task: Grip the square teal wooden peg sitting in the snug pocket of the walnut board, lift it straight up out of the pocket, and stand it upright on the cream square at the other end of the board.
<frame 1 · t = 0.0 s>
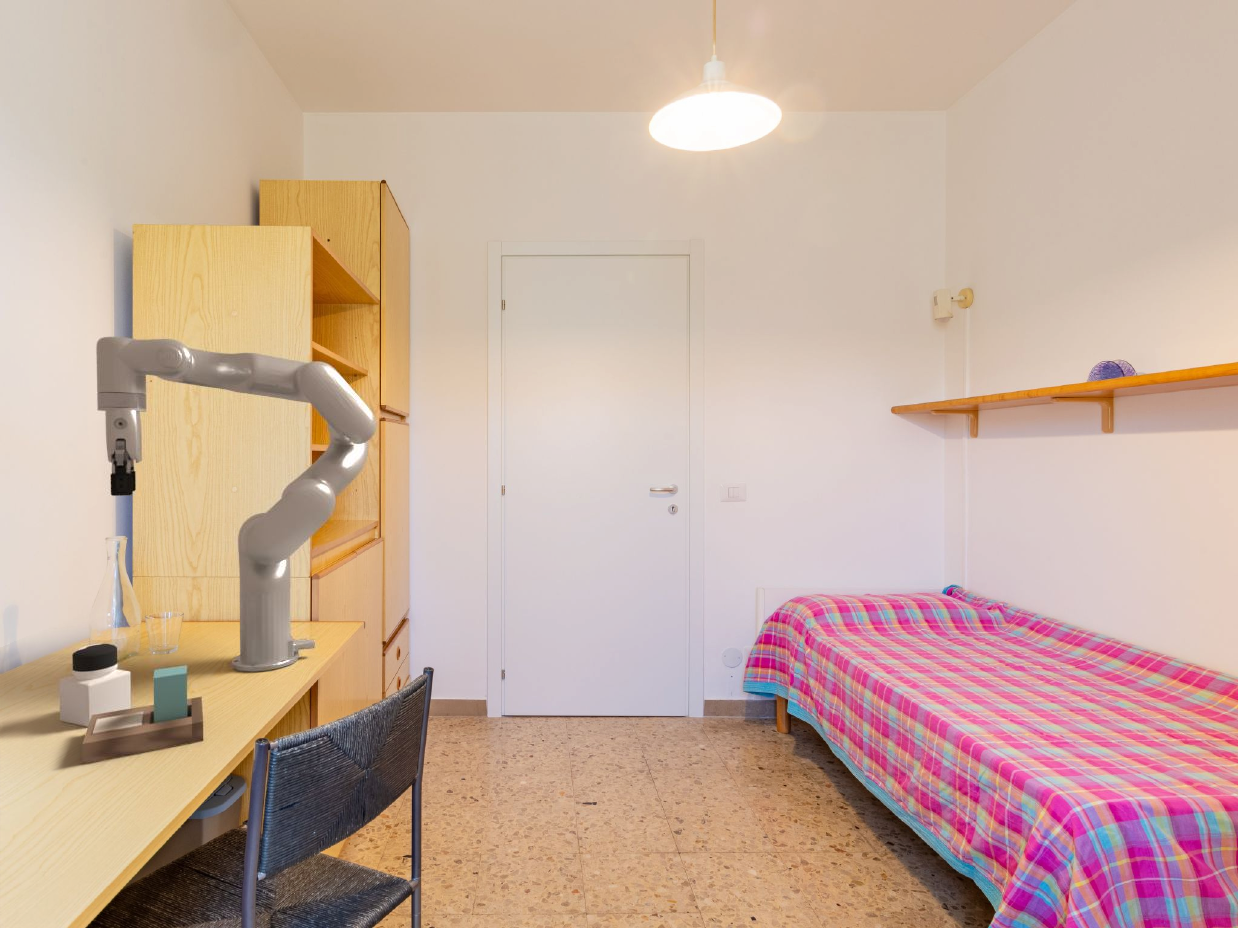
hand: (123, 493, 129), 37 cm above the table, tool pointing down, fingers open, 9 cm apart
peg: (171, 732, 110), resting in pocket board
pocket board: (147, 736, 108), on the table
medicine bottle: (96, 717, 115), on the table
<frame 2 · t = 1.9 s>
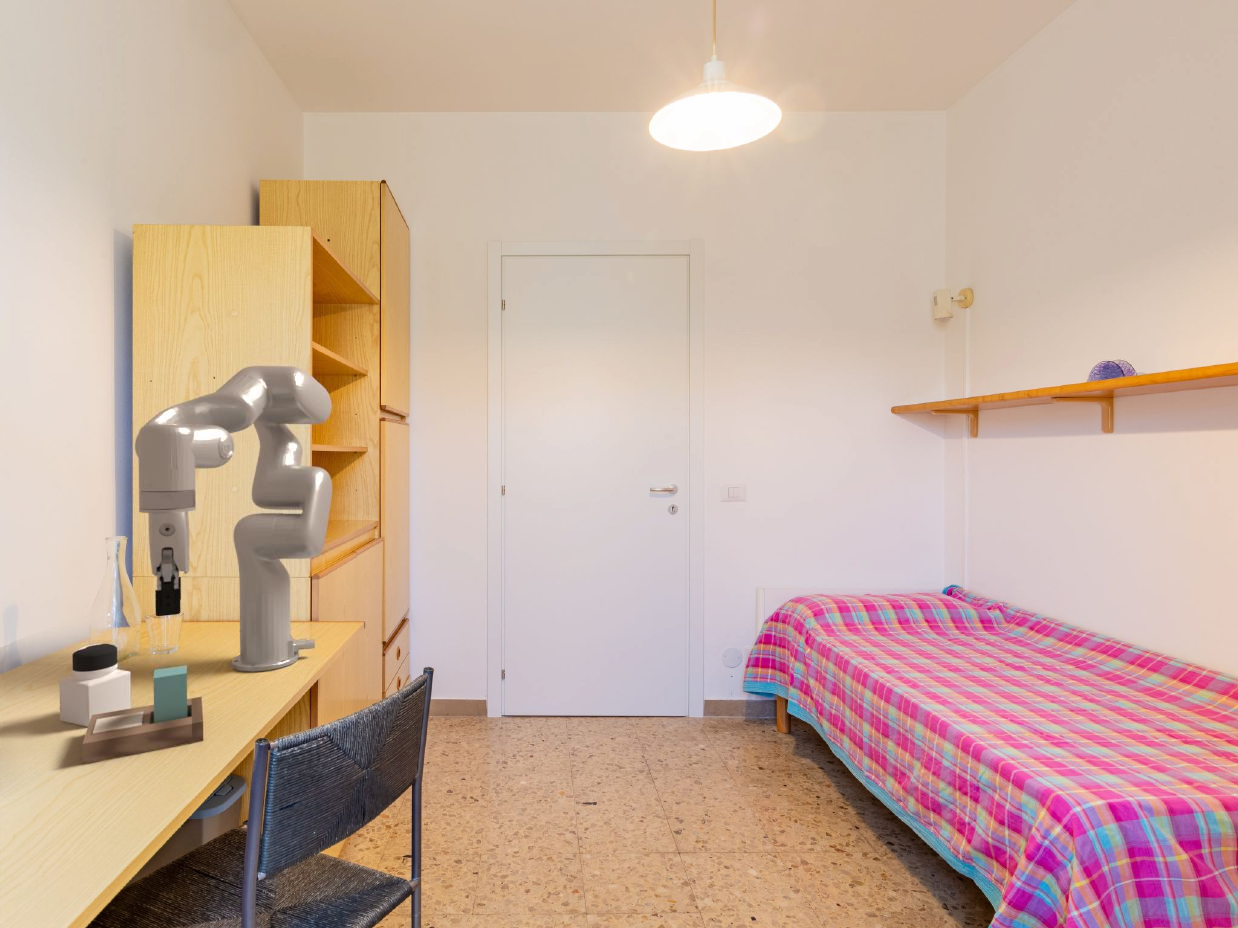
hand: (168, 608, 109), 20 cm above the table, tool pointing down, fingers open, 9 cm apart
nothing on the table moved.
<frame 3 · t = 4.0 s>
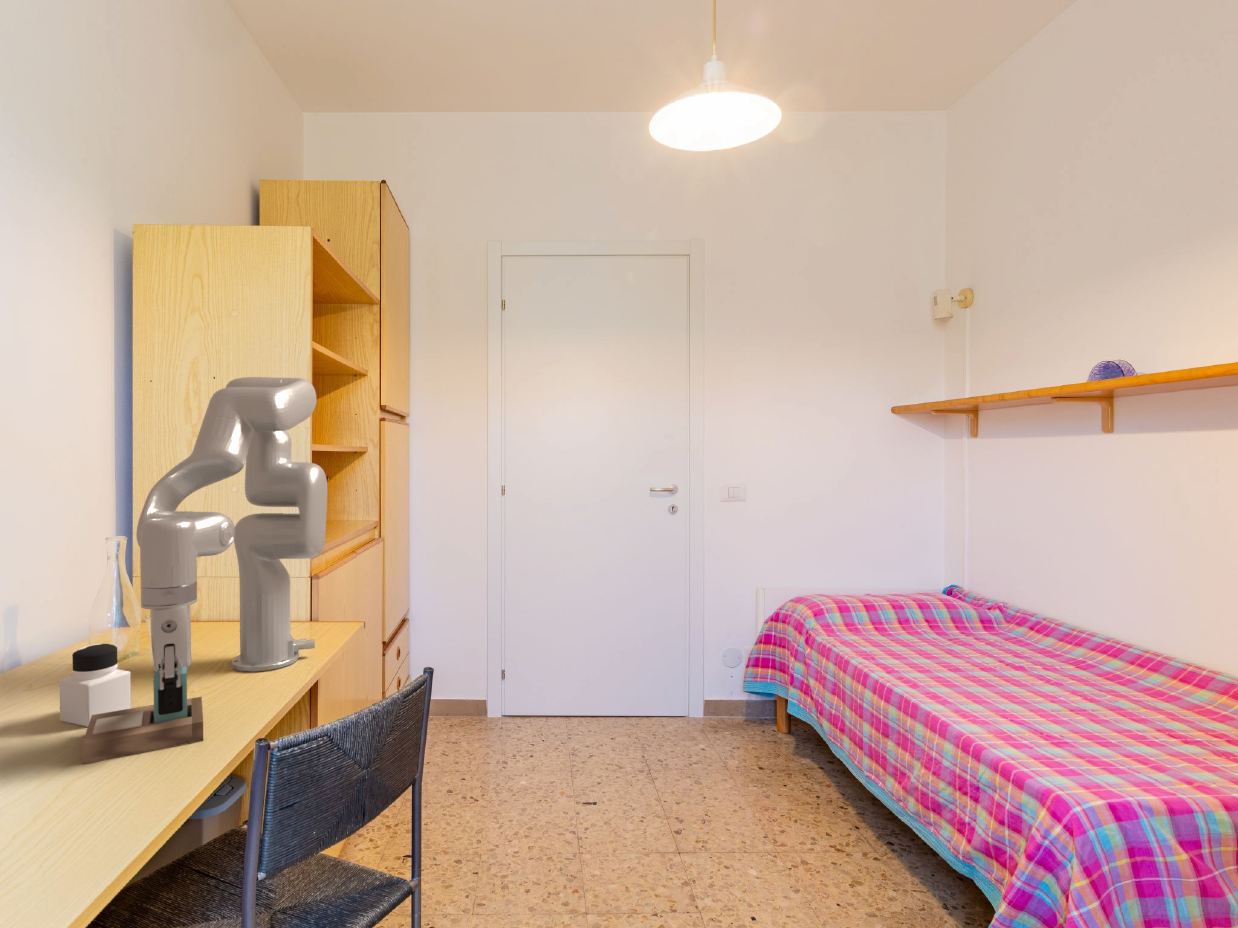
hand: (171, 705, 109), 4 cm above the table, tool pointing down, fingers closed on peg, 4 cm apart
peg: (171, 732, 110), resting in pocket board, touching gripper
everything else where it was.
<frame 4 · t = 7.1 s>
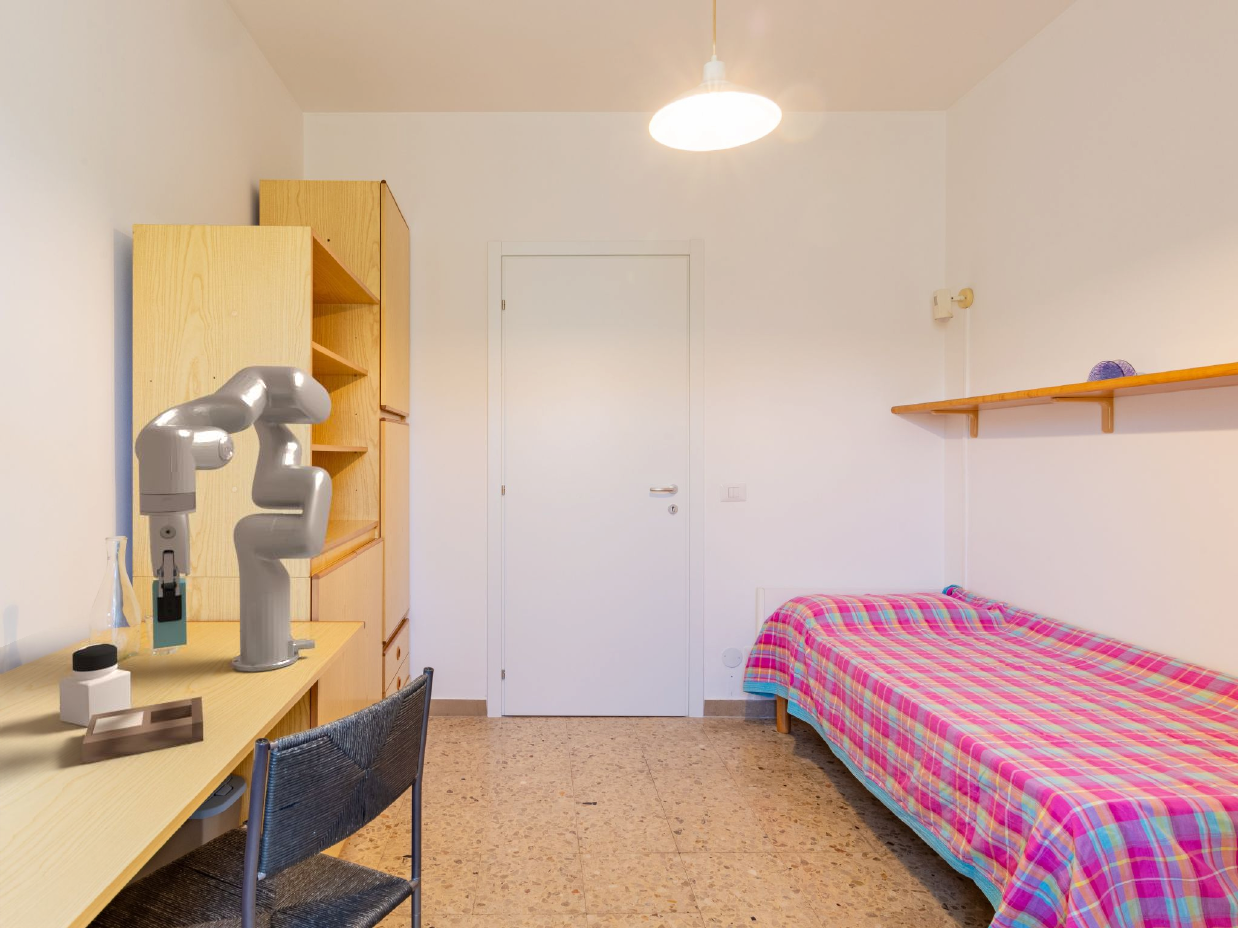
hand: (170, 616, 109), 19 cm above the table, tool pointing down, fingers closed on peg, 4 cm apart
peg: (170, 642, 109), point 15 cm above the table, touching gripper
everything else where it was.
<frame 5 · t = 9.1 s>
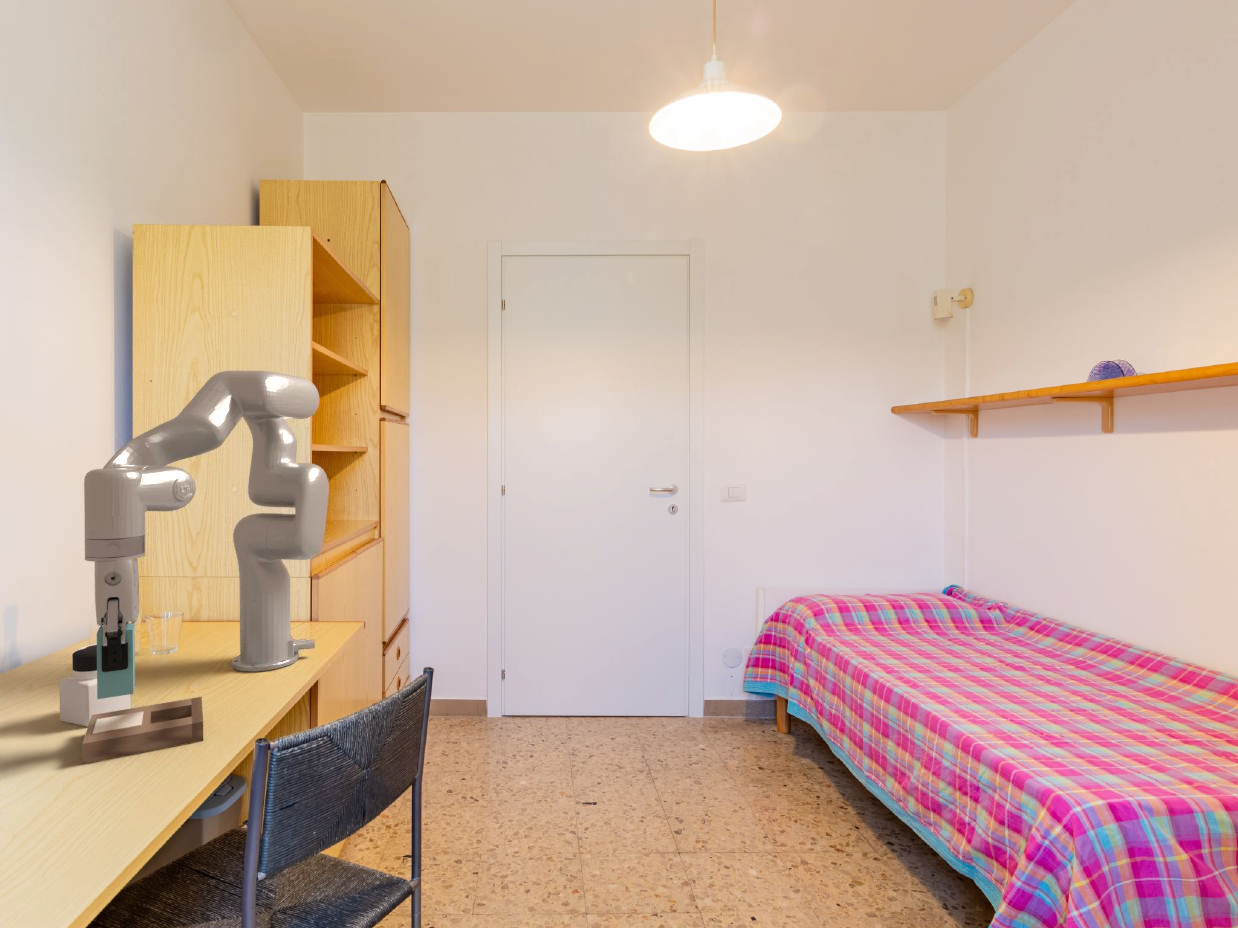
hand: (116, 664, 105), 12 cm above the table, tool pointing down, fingers closed on peg, 4 cm apart
peg: (116, 691, 105), point 8 cm above the table, touching gripper
everything else where it was.
when the fingers open (8 cm above the table, at t = 10.6 s): peg stays where it is, resting on pocket board.
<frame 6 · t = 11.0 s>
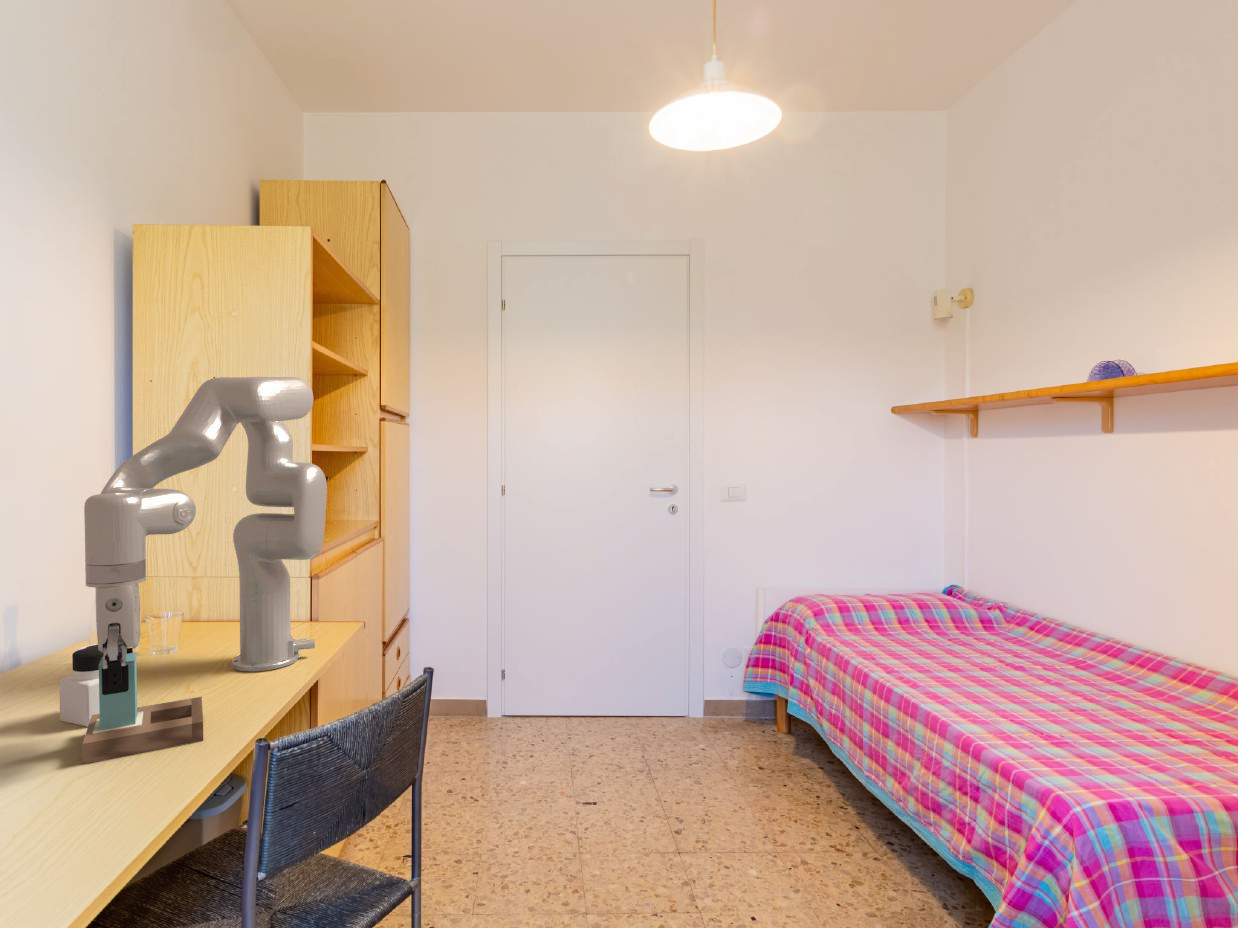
hand: (118, 682, 106), 9 cm above the table, tool pointing down, fingers open, 9 cm apart
peg: (119, 721, 106), point 3 cm above the table, touching pocket board
everything else where it was.
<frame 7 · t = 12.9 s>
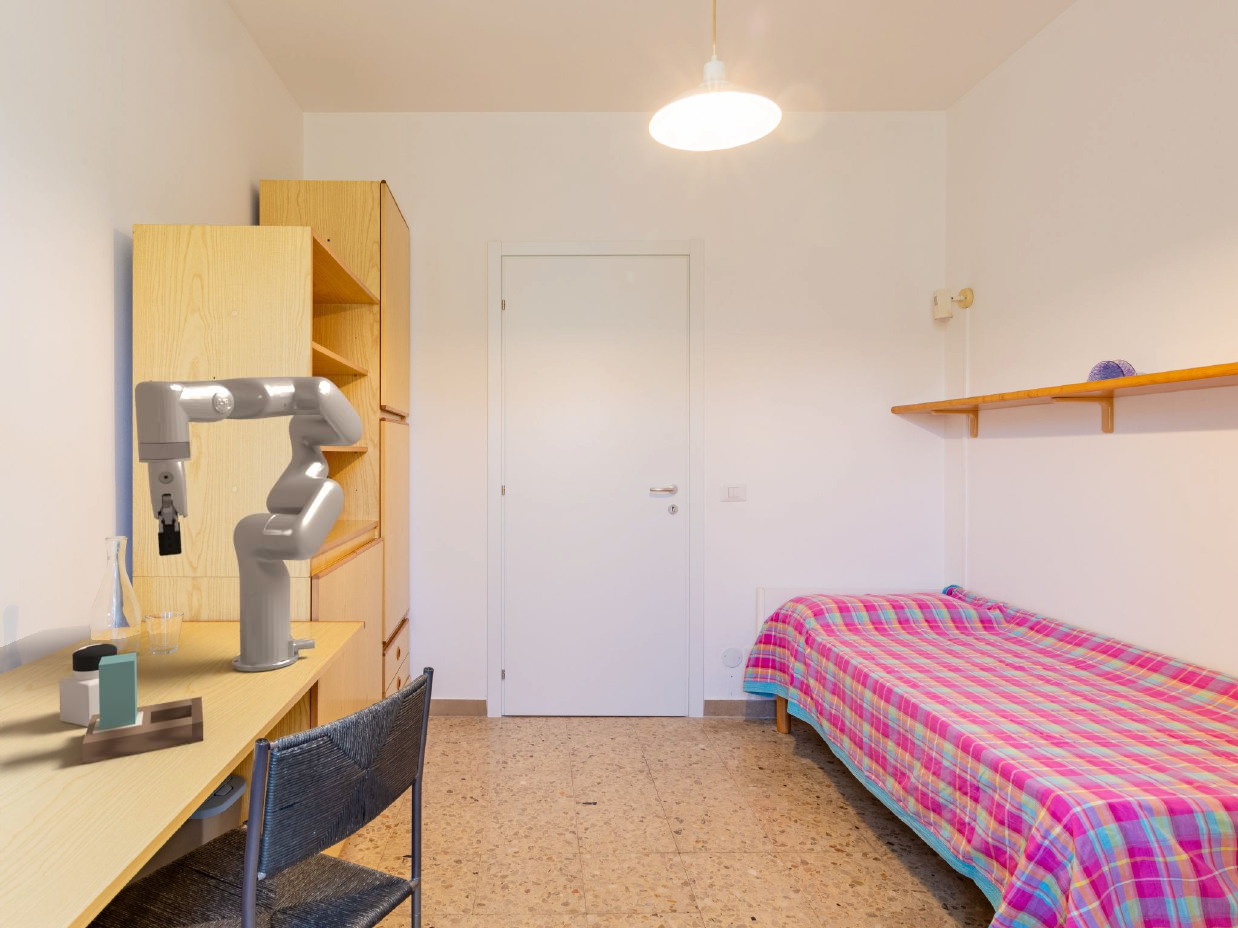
hand: (170, 549, 119), 28 cm above the table, tool pointing down, fingers open, 9 cm apart
nothing on the table moved.
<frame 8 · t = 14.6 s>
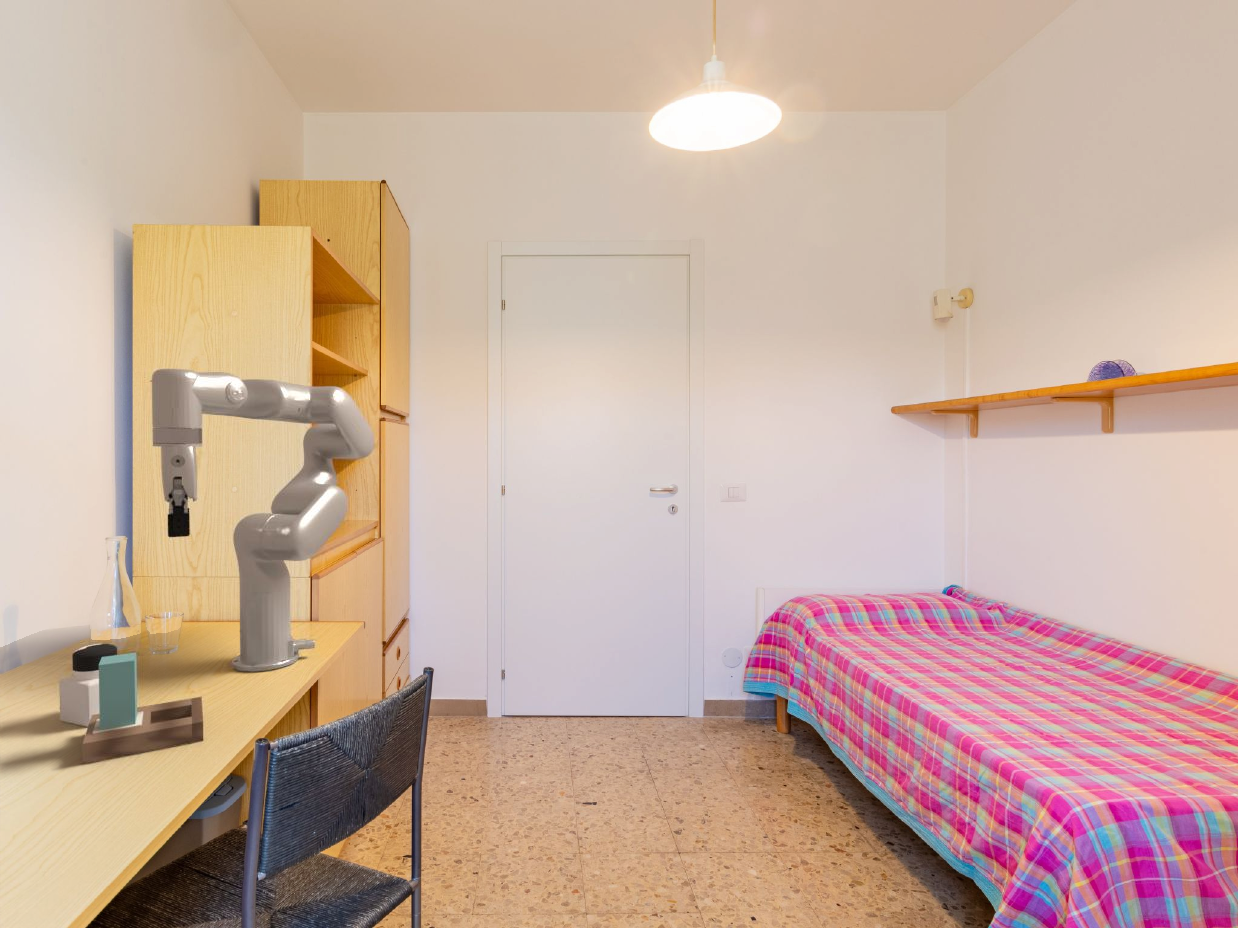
hand: (179, 533, 123), 30 cm above the table, tool pointing down, fingers open, 9 cm apart
nothing on the table moved.
at the end: peg 0.0 cm from the target spot on the pocket board, point 3.2 cm above the pocket board's base; peg tilted 0°; the gripper is holding nothing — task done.
